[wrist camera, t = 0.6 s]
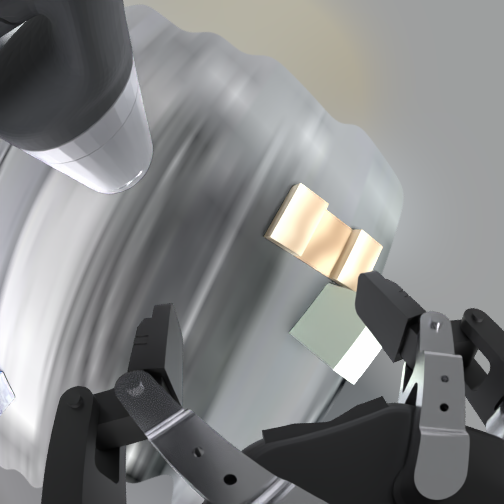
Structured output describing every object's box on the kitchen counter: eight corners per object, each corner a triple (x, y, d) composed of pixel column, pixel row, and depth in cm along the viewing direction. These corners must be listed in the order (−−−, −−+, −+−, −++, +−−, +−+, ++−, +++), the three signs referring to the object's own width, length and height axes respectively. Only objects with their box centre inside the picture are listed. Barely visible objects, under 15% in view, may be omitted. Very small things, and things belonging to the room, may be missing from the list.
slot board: (263, 236, 32) (270, 236, 30) (292, 186, 33) (300, 183, 31) (349, 291, 36) (359, 294, 34) (371, 246, 36) (382, 246, 34)
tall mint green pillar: (288, 333, 34) (333, 369, 23) (327, 282, 35) (383, 300, 24) (307, 347, 35) (353, 384, 24) (344, 299, 36) (400, 319, 25)
